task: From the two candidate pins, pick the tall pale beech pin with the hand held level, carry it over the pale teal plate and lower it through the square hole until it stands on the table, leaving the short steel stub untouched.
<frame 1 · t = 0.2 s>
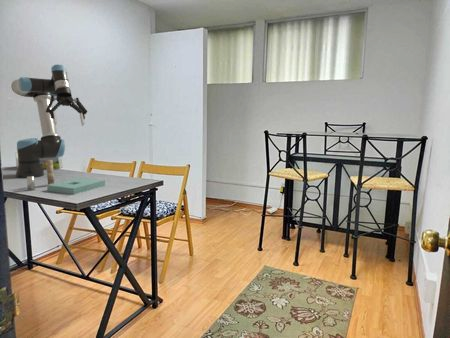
hand: (69, 124, 169), 34 cm above the table, tool tilted 30°, fingers open, 13 cm apart
tape dispenser: (32, 166, 235), on the table
tall pin: (51, 185, 177), on the table
short pin: (31, 189, 166), on the table
snack box: (46, 168, 229), on the table
hole plate: (77, 187, 172), on the table
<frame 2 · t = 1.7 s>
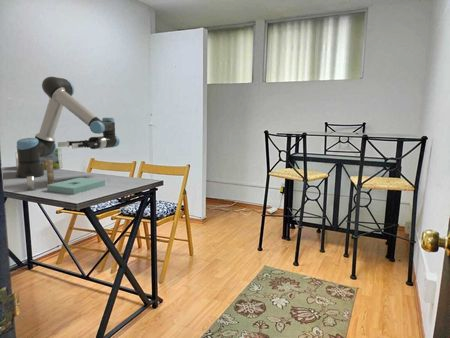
hand: (65, 145, 181), 22 cm above the table, tool horizontal, fingers open, 13 cm apart
nothing on the table moved.
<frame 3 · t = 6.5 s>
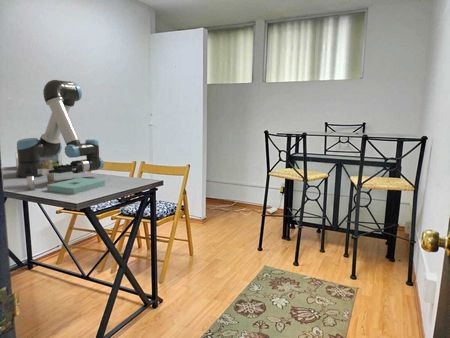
hand: (40, 172, 171), 8 cm above the table, tool horizontal, fingers closed on tall pin, 3 cm apart
tall pin: (51, 185, 177), on the table, touching gripper
everything else where it was.
when the fingers open (9 cm above the table, at t = 11.3 s): tall pin drops 1 cm, resting in hole plate.
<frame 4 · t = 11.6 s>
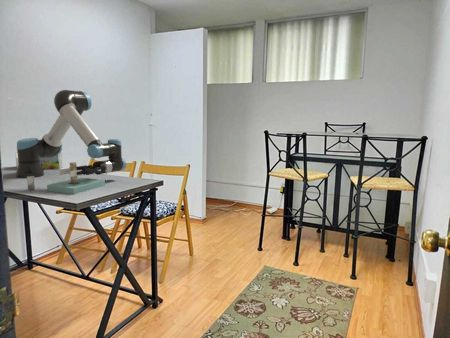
hand: (65, 173, 164), 9 cm above the table, tool horizontal, fingers open, 8 cm apart
tall pin: (74, 188, 170), resting in hole plate
everything else where it was.
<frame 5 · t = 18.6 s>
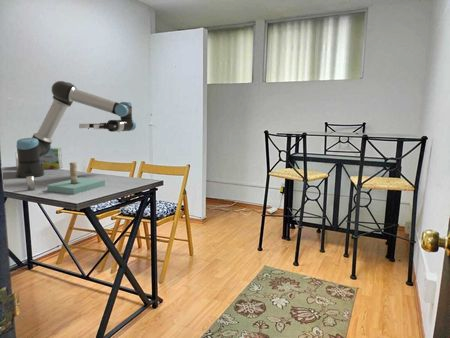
hand: (86, 126, 190), 32 cm above the table, tool horizontal, fingers open, 13 cm apart
nothing on the table moved.
at the end: tall pin 0.0 cm from the target spot on the hole plate, point 0.0 cm above the hole plate's base; tall pin tilted 0°; short pin moved 0.0 cm from its start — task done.
